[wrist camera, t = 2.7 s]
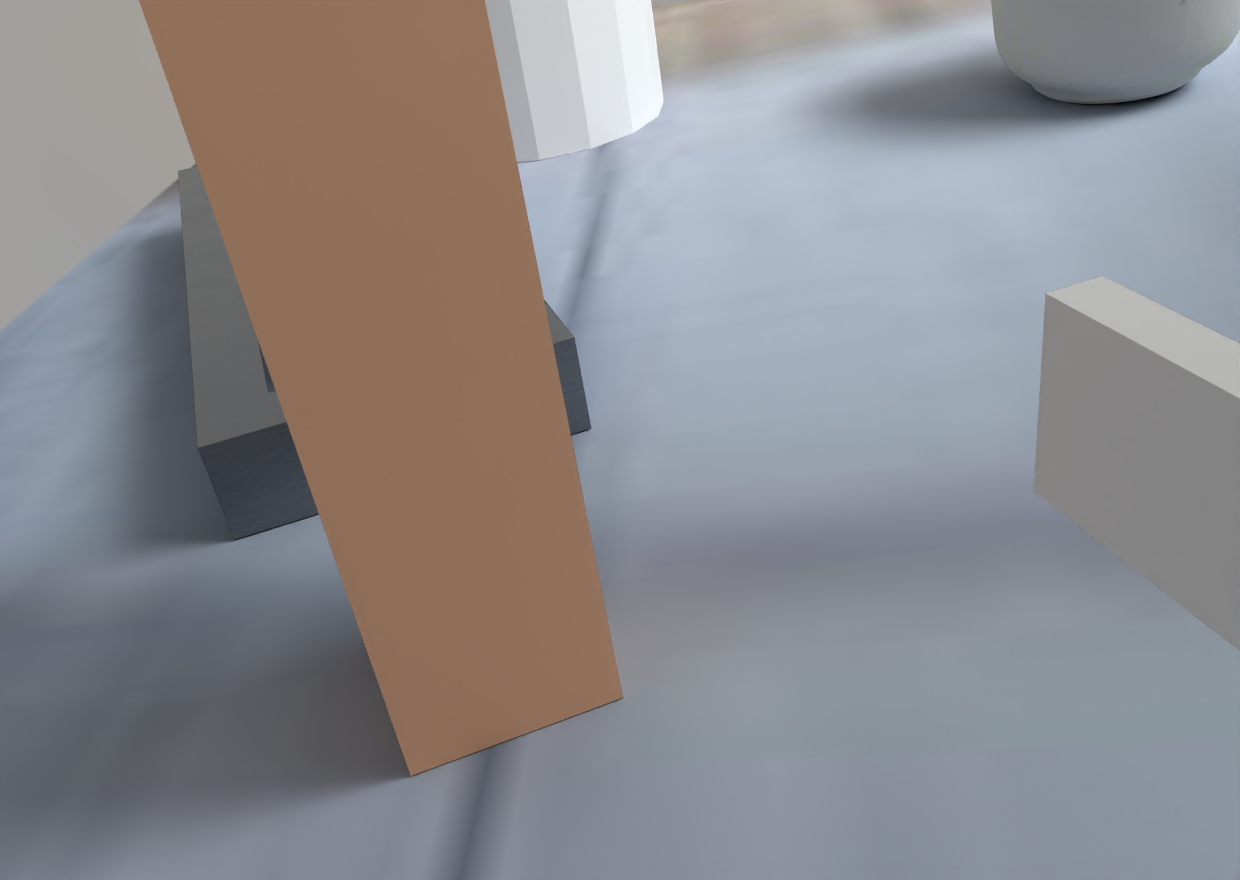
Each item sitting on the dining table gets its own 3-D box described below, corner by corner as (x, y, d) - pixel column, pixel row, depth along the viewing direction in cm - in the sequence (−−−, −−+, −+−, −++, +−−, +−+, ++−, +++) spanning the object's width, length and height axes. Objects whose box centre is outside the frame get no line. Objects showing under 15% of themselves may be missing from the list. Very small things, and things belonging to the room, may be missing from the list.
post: (558, 576, 28) (397, -154, 19) (622, 697, 24) (456, -144, 16) (374, 639, 27) (120, -103, 18) (410, 775, 23) (111, -78, 15)
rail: (415, 178, 56) (400, 117, 54) (590, 428, 34) (574, 337, 32) (200, 232, 54) (178, 171, 52) (234, 539, 31) (197, 447, 30)
